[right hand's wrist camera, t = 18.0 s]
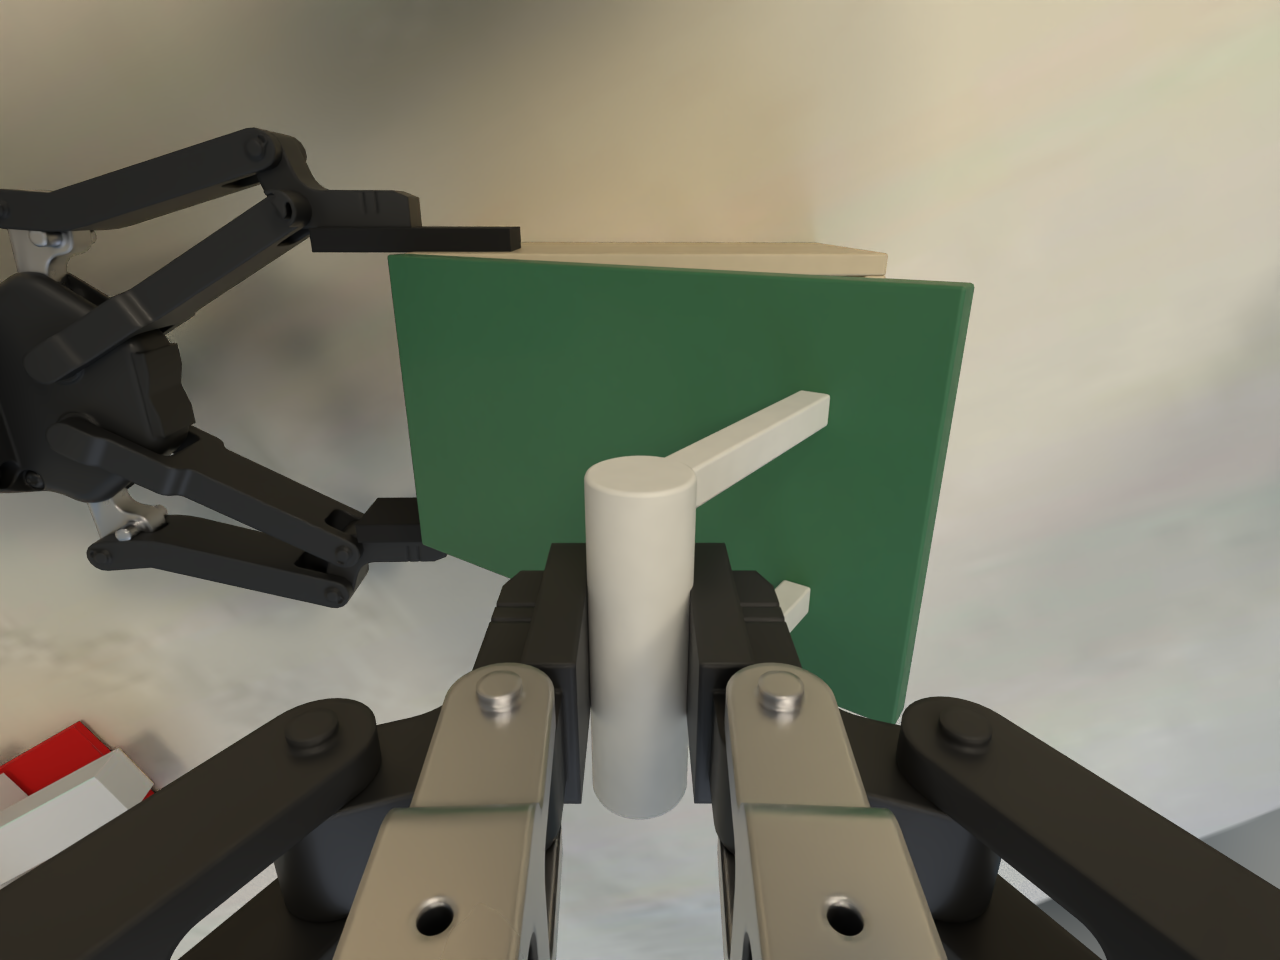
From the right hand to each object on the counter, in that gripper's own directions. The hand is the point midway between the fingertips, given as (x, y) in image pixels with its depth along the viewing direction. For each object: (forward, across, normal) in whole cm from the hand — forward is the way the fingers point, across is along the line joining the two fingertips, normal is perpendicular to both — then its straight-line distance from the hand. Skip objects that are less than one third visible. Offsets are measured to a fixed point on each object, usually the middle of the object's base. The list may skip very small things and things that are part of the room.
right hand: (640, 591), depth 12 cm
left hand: (+15, -4, 0) cm, 16 cm away
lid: (+8, -1, 0) cm, 8 cm away
